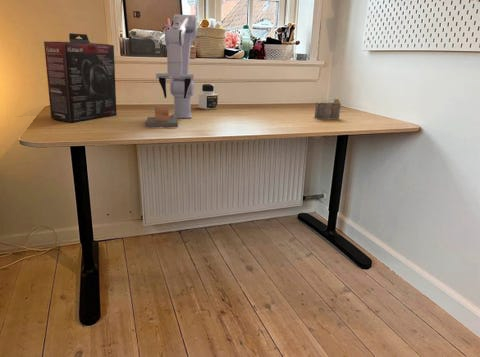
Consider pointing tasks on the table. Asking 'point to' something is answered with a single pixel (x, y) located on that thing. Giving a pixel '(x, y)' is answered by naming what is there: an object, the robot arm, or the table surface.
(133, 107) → the table surface
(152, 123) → the base block
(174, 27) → the robot arm
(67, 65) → the headset box
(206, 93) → the medicine bottle
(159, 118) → the cube
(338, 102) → the ruin model on sheet
